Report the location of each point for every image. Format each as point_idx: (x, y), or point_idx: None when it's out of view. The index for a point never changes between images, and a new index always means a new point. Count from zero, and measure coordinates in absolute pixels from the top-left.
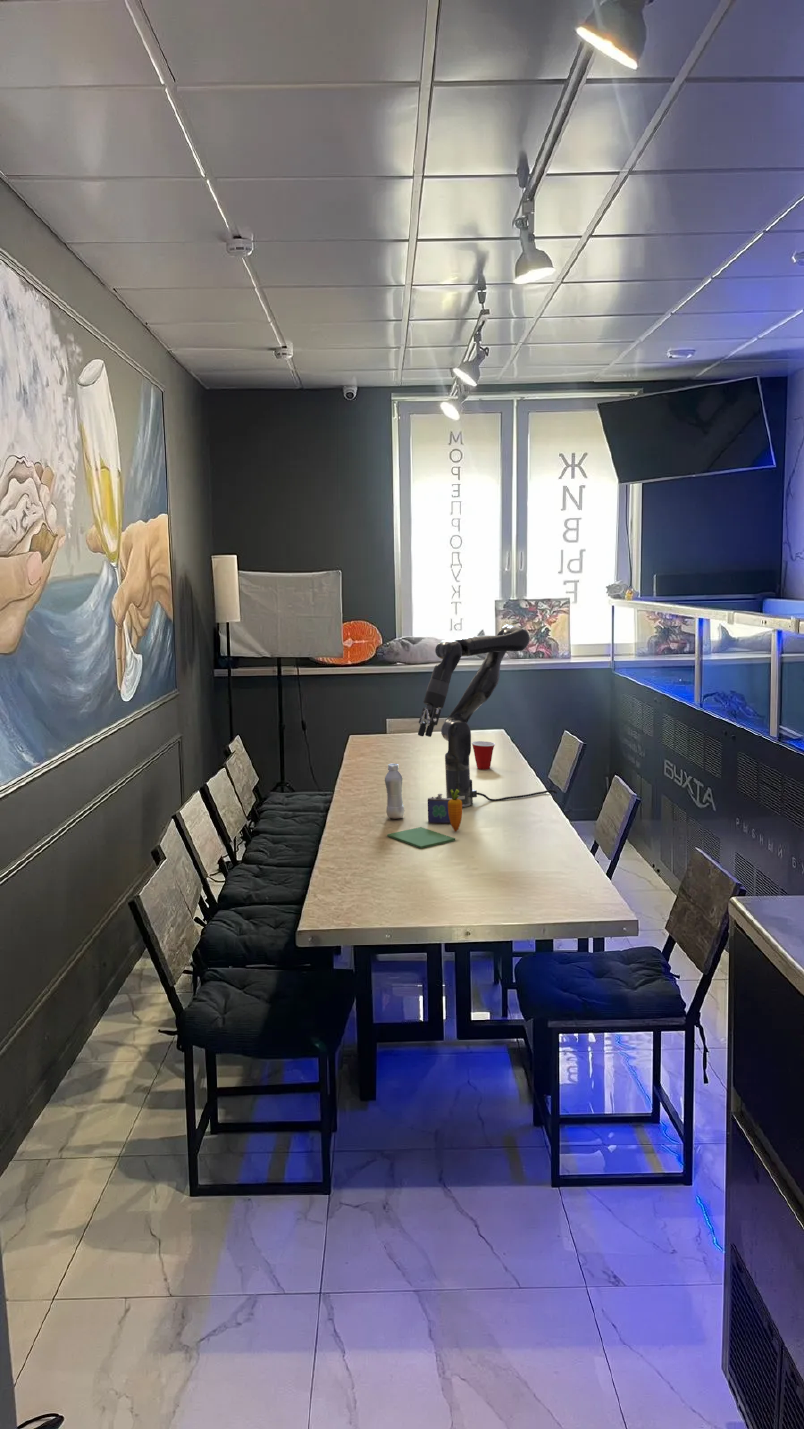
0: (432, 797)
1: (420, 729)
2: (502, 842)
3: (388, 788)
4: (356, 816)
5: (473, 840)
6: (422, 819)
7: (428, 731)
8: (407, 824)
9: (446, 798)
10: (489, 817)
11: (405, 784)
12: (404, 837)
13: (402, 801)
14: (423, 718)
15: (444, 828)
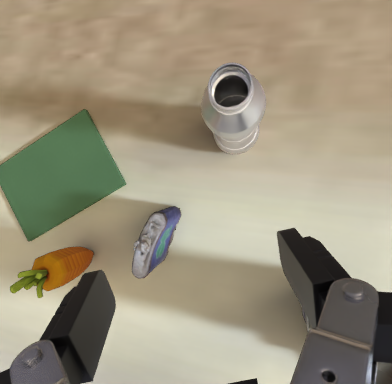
0: (149, 225)
1: (295, 263)
2: (5, 322)
3: (217, 94)
4: (280, 35)
5: None
6: (209, 196)
7: (61, 306)
8: (172, 158)
9: (146, 263)
10: (189, 349)
11: None
12: (53, 143)
13: (229, 146)
14: (300, 367)
15: (121, 234)
